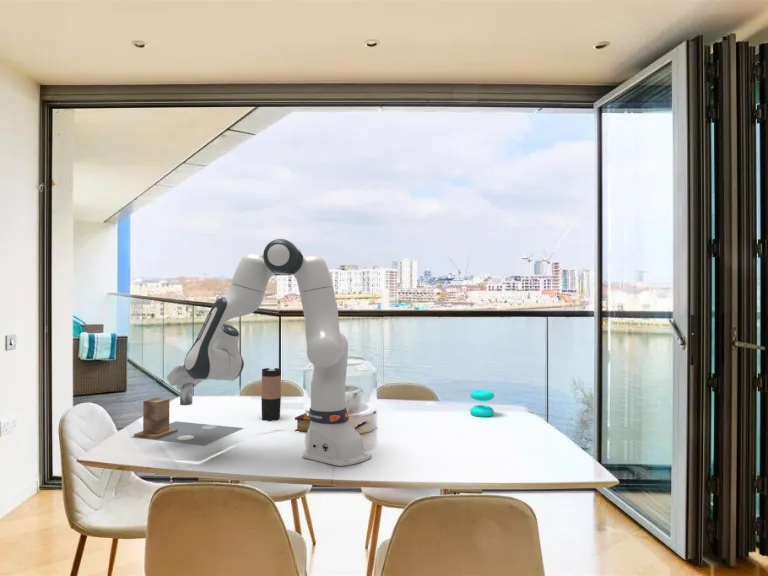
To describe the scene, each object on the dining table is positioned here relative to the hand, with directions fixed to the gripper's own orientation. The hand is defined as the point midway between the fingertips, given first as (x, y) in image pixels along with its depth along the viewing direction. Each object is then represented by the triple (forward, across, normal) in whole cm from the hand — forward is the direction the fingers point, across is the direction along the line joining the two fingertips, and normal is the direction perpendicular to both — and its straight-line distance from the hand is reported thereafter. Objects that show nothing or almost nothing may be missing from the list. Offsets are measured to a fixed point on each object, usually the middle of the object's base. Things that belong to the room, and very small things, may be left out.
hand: (185, 387), depth 191 cm
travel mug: (+10, +39, -16) cm, 43 cm away
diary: (-9, +42, -36) cm, 56 cm away
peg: (+4, 0, -4) cm, 6 cm away
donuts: (-39, +92, -66) cm, 120 cm away
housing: (+20, -3, -4) cm, 21 cm away
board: (+15, +5, -10) cm, 19 cm away
